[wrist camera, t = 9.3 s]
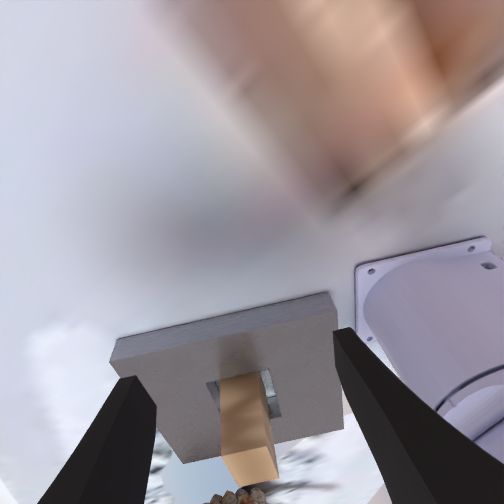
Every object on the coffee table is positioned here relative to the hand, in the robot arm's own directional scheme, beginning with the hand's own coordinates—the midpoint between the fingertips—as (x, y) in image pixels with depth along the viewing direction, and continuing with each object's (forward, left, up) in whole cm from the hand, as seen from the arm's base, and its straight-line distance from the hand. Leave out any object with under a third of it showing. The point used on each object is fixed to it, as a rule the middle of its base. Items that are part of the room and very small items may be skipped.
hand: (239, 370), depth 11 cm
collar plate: (+2, +14, -9) cm, 17 cm away
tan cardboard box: (+2, +14, -10) cm, 17 cm away
